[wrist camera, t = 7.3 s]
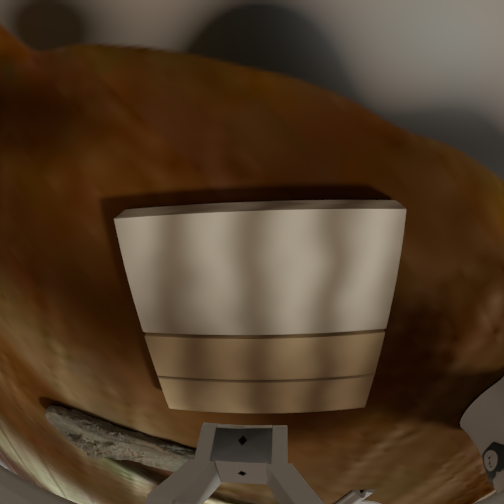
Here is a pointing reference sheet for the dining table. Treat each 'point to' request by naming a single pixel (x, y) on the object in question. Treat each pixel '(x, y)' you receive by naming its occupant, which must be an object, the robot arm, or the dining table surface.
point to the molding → (357, 497)
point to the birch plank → (263, 266)
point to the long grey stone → (116, 440)
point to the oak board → (266, 371)
